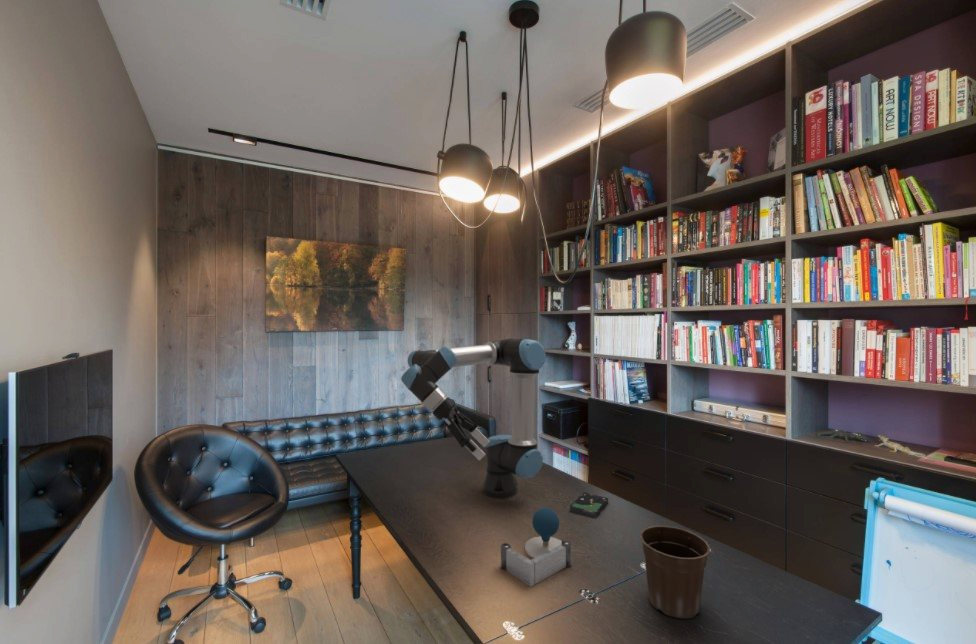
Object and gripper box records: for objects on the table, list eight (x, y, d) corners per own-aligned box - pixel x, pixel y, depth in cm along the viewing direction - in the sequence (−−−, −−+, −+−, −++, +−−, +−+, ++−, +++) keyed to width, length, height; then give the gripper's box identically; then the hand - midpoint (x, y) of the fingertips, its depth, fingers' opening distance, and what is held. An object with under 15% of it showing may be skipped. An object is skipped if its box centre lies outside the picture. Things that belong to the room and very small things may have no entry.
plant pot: (689, 582, 117) (689, 524, 116) (723, 625, 100) (724, 557, 100) (631, 584, 116) (630, 525, 116) (656, 626, 100) (656, 559, 100)
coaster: (544, 535, 142) (544, 532, 142) (575, 551, 132) (575, 548, 132) (516, 548, 134) (516, 545, 134) (546, 566, 124) (546, 563, 124)
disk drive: (583, 499, 172) (569, 512, 160) (583, 492, 172) (569, 505, 160) (608, 504, 167) (596, 519, 154) (608, 497, 167) (596, 511, 154)
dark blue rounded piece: (538, 556, 128) (538, 516, 128) (528, 541, 136) (528, 504, 136) (563, 552, 130) (564, 513, 130) (552, 538, 138) (552, 501, 138)
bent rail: (541, 546, 135) (541, 526, 135) (573, 564, 125) (573, 543, 125) (498, 567, 124) (498, 545, 124) (530, 588, 114) (530, 565, 114)
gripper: (439, 404, 153) (481, 447, 151) (422, 421, 128) (471, 472, 126) (454, 389, 152) (495, 432, 151) (439, 403, 127) (489, 455, 126)
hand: (484, 450), depth 139 cm, fingers open, 13 cm apart
